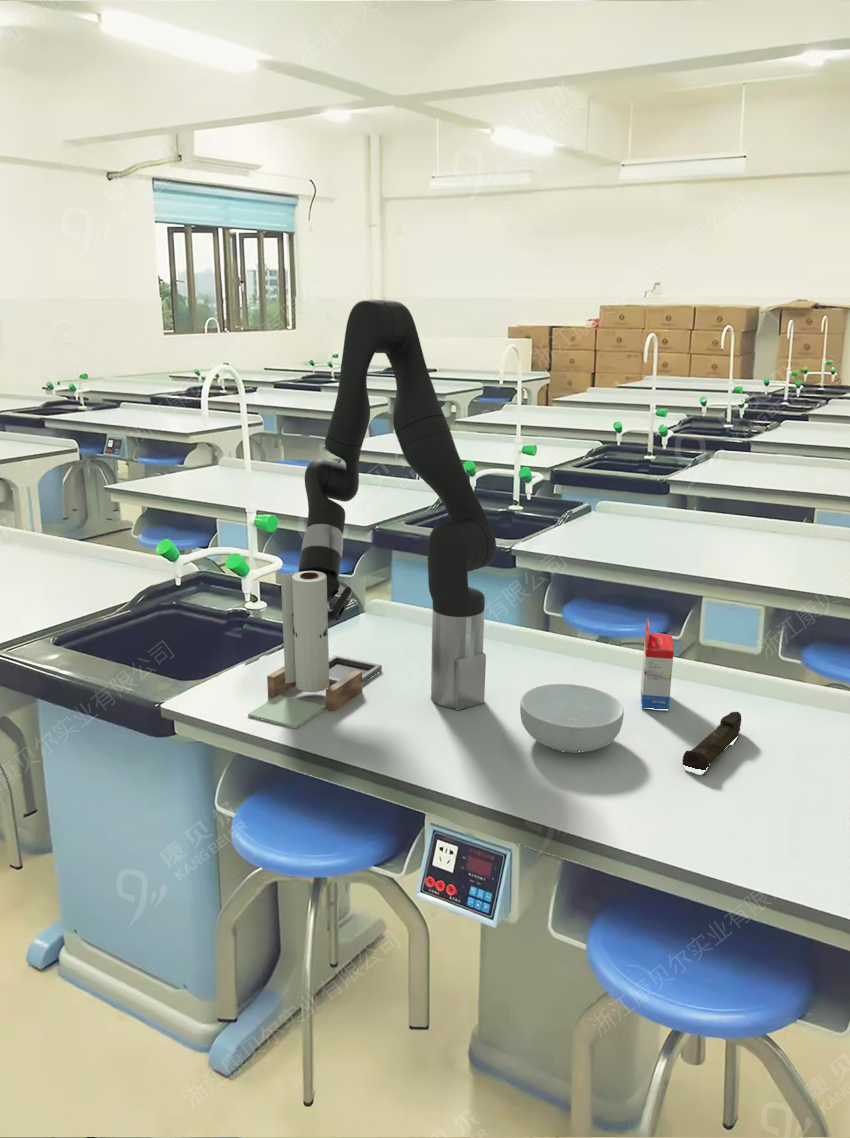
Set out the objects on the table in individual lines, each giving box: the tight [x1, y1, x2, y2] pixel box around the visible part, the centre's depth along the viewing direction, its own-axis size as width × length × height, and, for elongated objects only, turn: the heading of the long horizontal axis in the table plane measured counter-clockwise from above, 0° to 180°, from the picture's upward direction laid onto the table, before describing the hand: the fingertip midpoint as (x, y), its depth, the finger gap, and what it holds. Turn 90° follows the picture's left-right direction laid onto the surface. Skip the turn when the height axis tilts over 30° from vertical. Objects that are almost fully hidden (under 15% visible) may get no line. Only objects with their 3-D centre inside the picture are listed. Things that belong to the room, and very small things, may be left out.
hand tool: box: [681, 711, 742, 770], centre depth 149 cm, size 19×4×5 cm, turn 139°
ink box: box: [640, 618, 675, 710], centre depth 166 cm, size 8×5×15 cm, turn 168°
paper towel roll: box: [280, 571, 330, 693], centre depth 165 cm, size 7×6×21 cm
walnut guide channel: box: [266, 665, 363, 713], centre depth 169 cm, size 10×14×4 cm
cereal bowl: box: [519, 683, 625, 753], centre depth 152 cm, size 17×17×7 cm
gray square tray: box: [329, 655, 383, 686], centre depth 178 cm, size 11×11×1 cm
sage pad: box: [247, 694, 326, 729], centre depth 162 cm, size 9×10×1 cm
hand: (309, 638), depth 164 cm, fingers closed on paper towel roll, 3 cm apart
